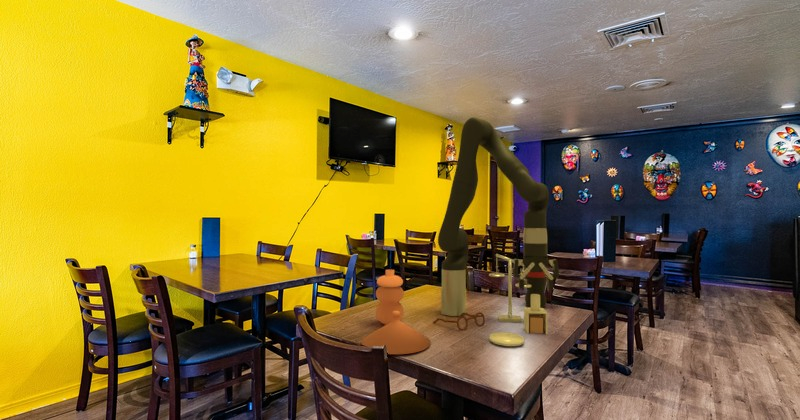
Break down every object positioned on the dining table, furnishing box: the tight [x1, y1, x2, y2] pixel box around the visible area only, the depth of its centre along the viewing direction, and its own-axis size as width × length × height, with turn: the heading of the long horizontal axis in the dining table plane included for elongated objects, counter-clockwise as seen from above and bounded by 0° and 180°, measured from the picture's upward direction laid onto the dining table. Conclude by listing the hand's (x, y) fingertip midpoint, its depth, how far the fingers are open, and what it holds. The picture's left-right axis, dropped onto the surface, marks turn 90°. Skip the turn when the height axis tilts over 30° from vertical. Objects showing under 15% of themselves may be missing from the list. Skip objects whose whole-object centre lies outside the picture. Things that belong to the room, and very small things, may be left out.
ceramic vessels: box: [360, 269, 432, 355], centre depth 122 cm, size 35×21×19 cm, turn 7°
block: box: [529, 315, 544, 334], centre depth 126 cm, size 4×4×5 cm
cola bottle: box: [524, 270, 547, 309], centre depth 159 cm, size 8×8×30 cm
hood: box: [523, 294, 548, 335], centre depth 126 cm, size 6×6×12 cm
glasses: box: [432, 311, 486, 332], centre depth 134 cm, size 13×13×5 cm
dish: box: [489, 331, 525, 347], centre depth 115 cm, size 10×10×2 cm
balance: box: [488, 253, 531, 324], centre depth 139 cm, size 15×6×24 cm, turn 82°
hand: (535, 290), depth 126 cm, fingers open, 8 cm apart
